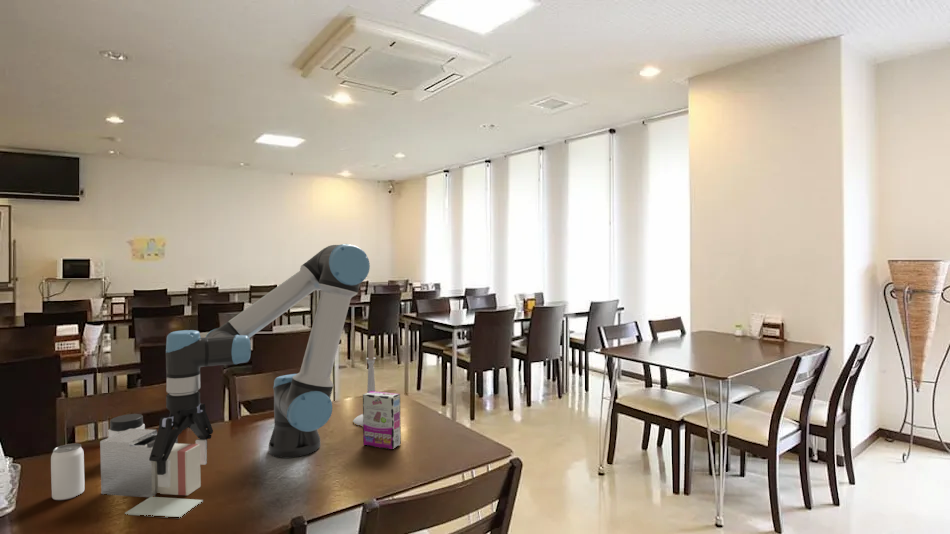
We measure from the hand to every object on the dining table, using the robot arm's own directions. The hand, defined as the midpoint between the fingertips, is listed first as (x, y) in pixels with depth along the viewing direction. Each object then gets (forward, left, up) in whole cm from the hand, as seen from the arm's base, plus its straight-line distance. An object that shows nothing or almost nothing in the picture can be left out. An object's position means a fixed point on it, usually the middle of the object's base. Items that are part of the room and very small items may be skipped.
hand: (183, 474), depth 131 cm
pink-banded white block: (+4, 0, -4) cm, 6 cm away
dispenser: (+12, 0, -4) cm, 13 cm away
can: (+27, +6, -4) cm, 28 cm away
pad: (-2, +9, -4) cm, 10 cm away
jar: (+31, -17, -4) cm, 36 cm away
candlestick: (-30, -58, -4) cm, 65 cm away
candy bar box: (-41, -36, -4) cm, 55 cm away
